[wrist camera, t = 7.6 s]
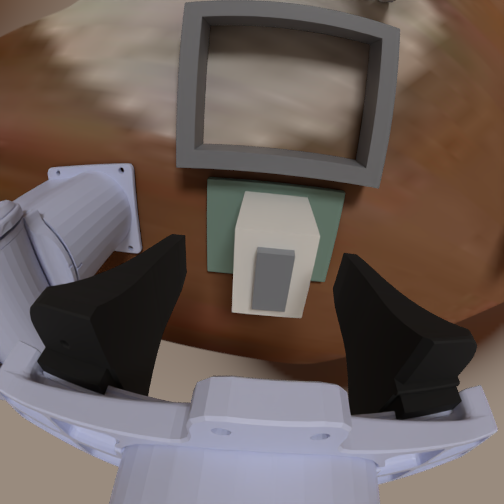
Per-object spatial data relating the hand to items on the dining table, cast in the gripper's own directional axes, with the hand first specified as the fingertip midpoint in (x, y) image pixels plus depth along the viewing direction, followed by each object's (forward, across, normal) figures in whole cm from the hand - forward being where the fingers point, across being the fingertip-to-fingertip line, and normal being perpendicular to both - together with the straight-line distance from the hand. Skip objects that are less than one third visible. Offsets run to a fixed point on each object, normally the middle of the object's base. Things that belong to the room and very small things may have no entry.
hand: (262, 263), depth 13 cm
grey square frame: (+9, -1, -8) cm, 12 cm away
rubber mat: (+9, -1, +3) cm, 10 cm away
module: (+9, -1, +3) cm, 9 cm away
